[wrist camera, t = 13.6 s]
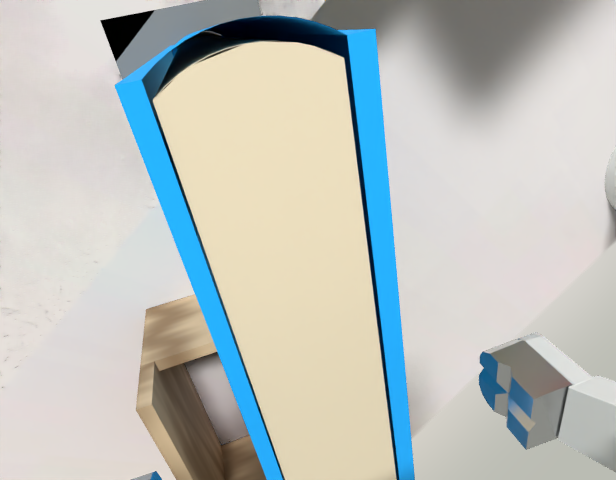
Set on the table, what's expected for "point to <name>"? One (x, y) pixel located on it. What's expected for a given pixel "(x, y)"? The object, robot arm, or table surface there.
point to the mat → (168, 28)
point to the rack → (185, 398)
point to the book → (286, 234)
